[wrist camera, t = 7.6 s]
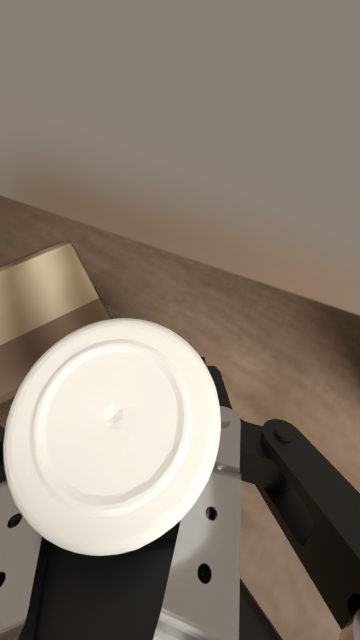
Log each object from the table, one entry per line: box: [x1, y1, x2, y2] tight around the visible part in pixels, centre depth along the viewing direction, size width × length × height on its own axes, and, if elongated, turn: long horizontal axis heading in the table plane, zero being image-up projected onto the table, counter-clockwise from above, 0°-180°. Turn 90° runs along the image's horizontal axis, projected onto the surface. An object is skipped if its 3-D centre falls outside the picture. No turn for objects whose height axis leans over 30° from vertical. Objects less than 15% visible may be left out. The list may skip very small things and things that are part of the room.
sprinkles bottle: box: [3, 318, 221, 556], centre depth 11 cm, size 5×5×14 cm
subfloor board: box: [0, 240, 111, 404], centre depth 22 cm, size 13×13×2 cm
